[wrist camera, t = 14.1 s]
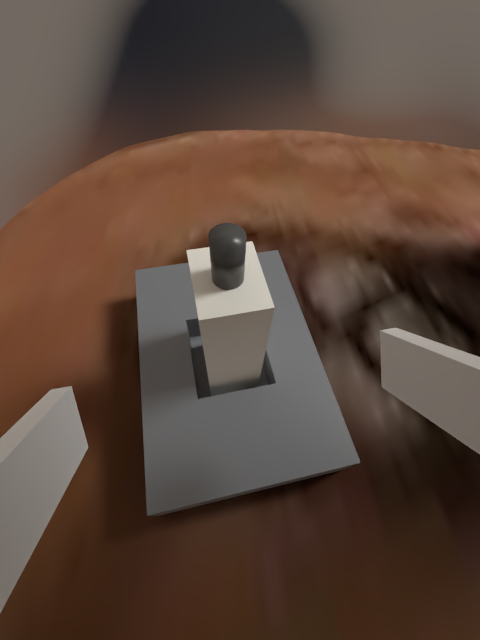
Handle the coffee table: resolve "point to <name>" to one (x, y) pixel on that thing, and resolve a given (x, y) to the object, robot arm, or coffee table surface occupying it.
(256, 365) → the plug
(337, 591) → the coffee table surface
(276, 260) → the socket panel
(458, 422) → the robot arm
